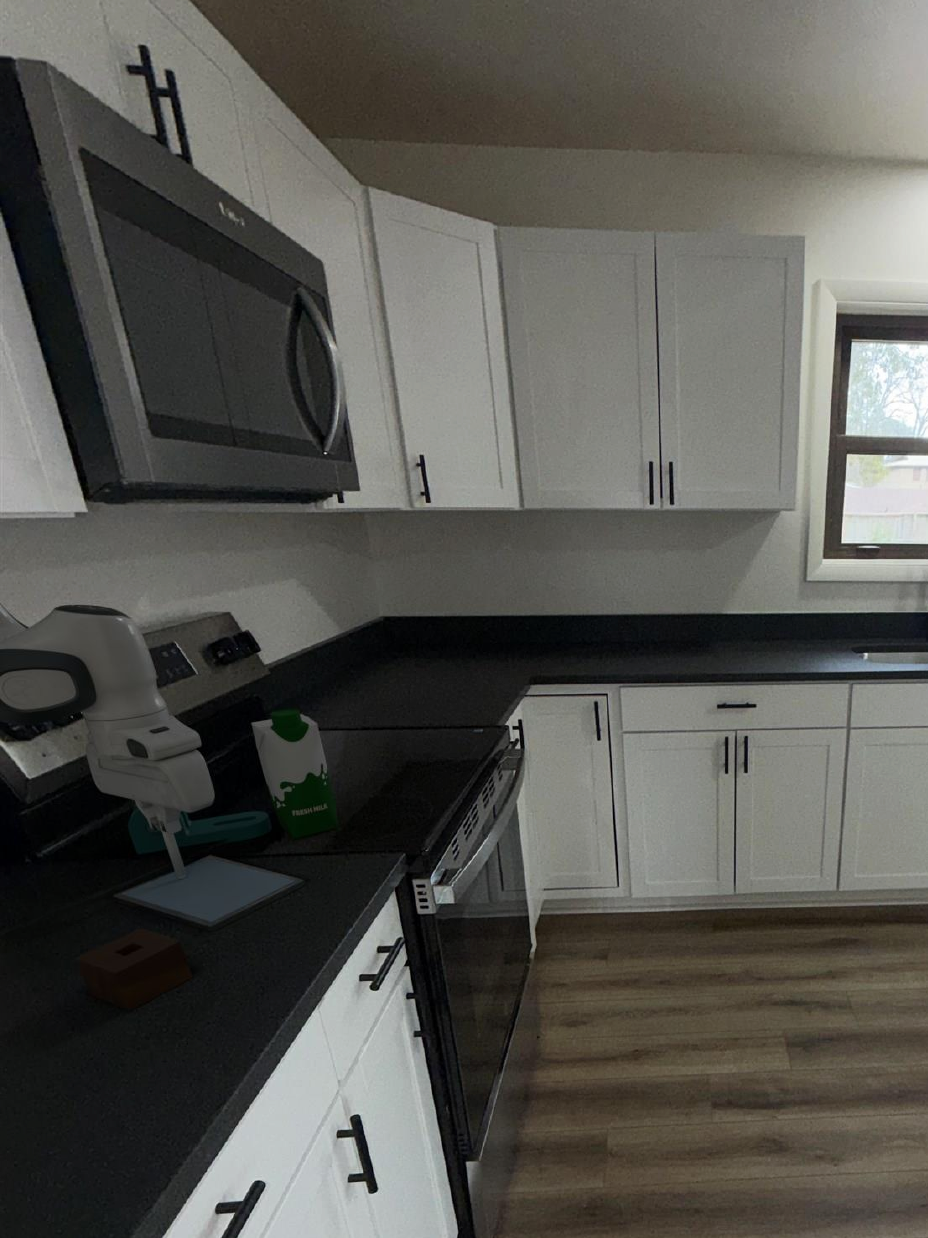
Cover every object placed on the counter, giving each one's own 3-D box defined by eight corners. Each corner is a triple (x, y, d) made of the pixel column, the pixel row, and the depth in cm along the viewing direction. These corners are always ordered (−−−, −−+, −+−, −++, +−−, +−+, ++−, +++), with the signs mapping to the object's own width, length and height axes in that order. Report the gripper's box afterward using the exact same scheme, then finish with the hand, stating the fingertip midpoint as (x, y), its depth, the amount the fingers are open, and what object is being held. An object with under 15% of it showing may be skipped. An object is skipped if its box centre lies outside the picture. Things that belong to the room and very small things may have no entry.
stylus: (175, 879, 110) (149, 799, 104) (184, 876, 111) (158, 796, 105) (181, 881, 109) (154, 801, 104) (189, 877, 110) (163, 798, 105)
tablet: (114, 901, 106) (112, 895, 105) (212, 860, 117) (210, 854, 117) (211, 932, 99) (209, 925, 98) (305, 885, 110) (304, 879, 110)
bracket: (138, 858, 118) (121, 811, 115) (143, 842, 123) (127, 796, 120) (272, 835, 126) (259, 789, 122) (271, 820, 131) (259, 777, 128)
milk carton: (289, 843, 123) (257, 720, 115) (273, 826, 129) (241, 709, 121) (346, 828, 128) (319, 710, 120) (328, 812, 134) (301, 699, 126)
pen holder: (90, 995, 86) (74, 958, 84) (154, 963, 92) (141, 927, 90) (130, 1011, 84) (114, 973, 82) (193, 977, 90) (180, 940, 87)
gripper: (59, 730, 102) (96, 826, 108) (158, 749, 94) (192, 851, 100) (110, 718, 107) (142, 810, 113) (208, 735, 100) (237, 833, 106)
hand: (166, 830), depth 107 cm, fingers closed on stylus, 1 cm apart
